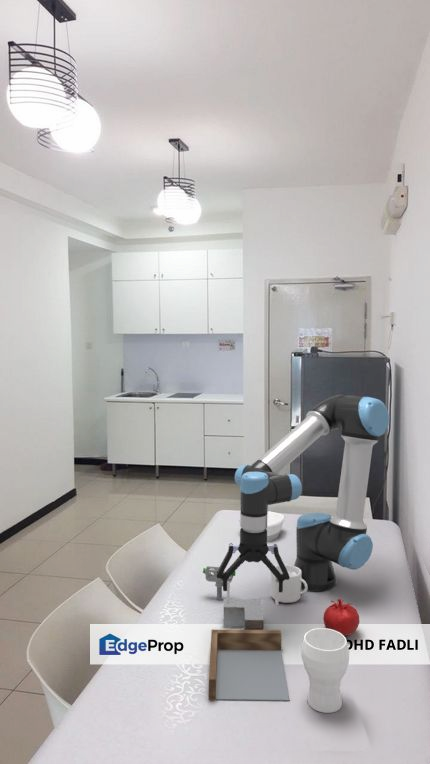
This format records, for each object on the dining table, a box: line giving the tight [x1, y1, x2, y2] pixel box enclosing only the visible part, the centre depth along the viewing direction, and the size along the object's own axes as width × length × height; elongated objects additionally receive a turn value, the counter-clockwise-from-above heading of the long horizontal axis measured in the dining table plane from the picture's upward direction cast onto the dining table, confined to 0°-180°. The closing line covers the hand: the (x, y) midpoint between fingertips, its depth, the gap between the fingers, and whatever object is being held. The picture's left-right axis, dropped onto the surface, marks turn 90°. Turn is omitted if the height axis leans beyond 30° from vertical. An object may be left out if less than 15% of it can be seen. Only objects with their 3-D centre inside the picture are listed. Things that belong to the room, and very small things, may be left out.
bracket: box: [223, 598, 264, 630], centre depth 156 cm, size 11×12×6 cm
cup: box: [300, 627, 350, 714], centre depth 124 cm, size 11×11×15 cm
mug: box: [270, 563, 308, 604], centre depth 175 cm, size 12×10×9 cm
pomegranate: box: [322, 598, 360, 637], centre depth 155 cm, size 10×10×9 cm
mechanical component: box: [202, 565, 236, 601], centre depth 174 cm, size 3×10×10 cm, turn 78°
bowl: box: [238, 510, 286, 543], centre depth 227 cm, size 18×18×9 cm
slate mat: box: [215, 649, 291, 702], centre depth 135 cm, size 17×20×1 cm
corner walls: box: [208, 629, 282, 701], centre depth 136 cm, size 19×22×5 cm
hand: (252, 602), depth 153 cm, fingers open, 13 cm apart
